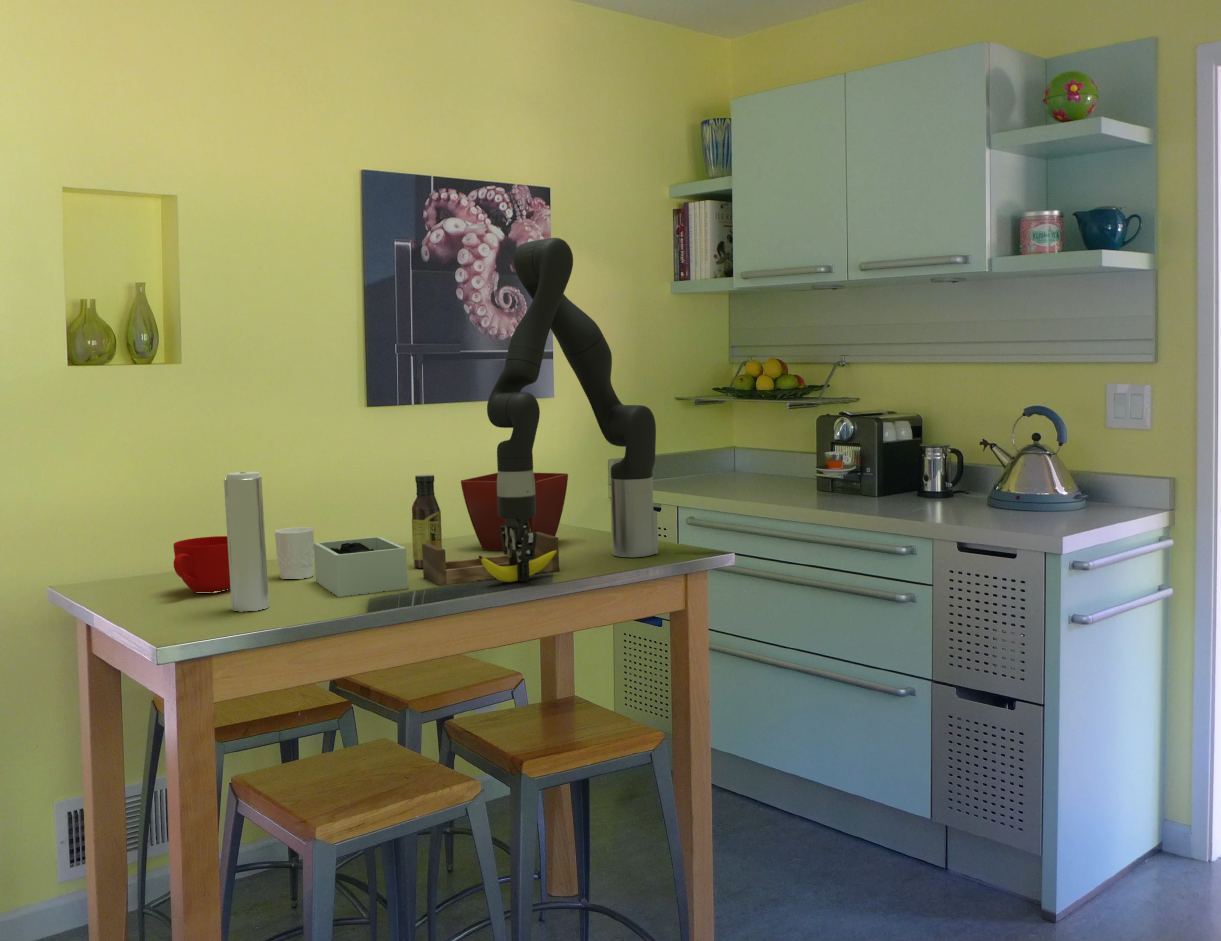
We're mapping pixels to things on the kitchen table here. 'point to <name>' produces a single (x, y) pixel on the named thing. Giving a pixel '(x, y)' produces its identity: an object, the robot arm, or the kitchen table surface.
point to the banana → (511, 571)
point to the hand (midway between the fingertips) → (519, 578)
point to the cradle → (478, 563)
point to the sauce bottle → (425, 518)
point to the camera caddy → (361, 567)
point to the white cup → (295, 552)
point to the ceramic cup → (203, 563)
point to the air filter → (246, 541)
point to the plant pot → (487, 522)
